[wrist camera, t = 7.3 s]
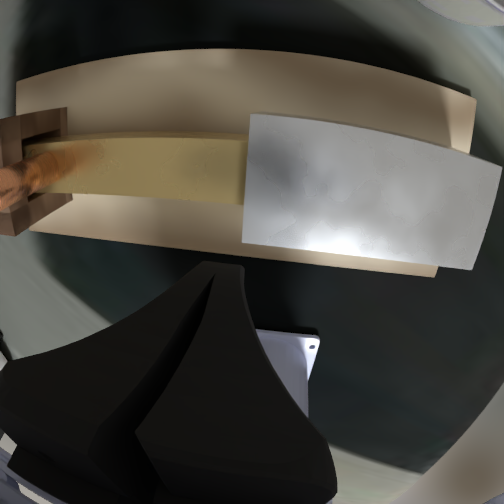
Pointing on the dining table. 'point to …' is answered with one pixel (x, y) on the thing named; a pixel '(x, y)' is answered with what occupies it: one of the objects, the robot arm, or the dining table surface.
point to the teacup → (469, 11)
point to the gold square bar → (132, 166)
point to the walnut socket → (10, 151)
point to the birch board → (229, 121)
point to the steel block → (364, 192)
